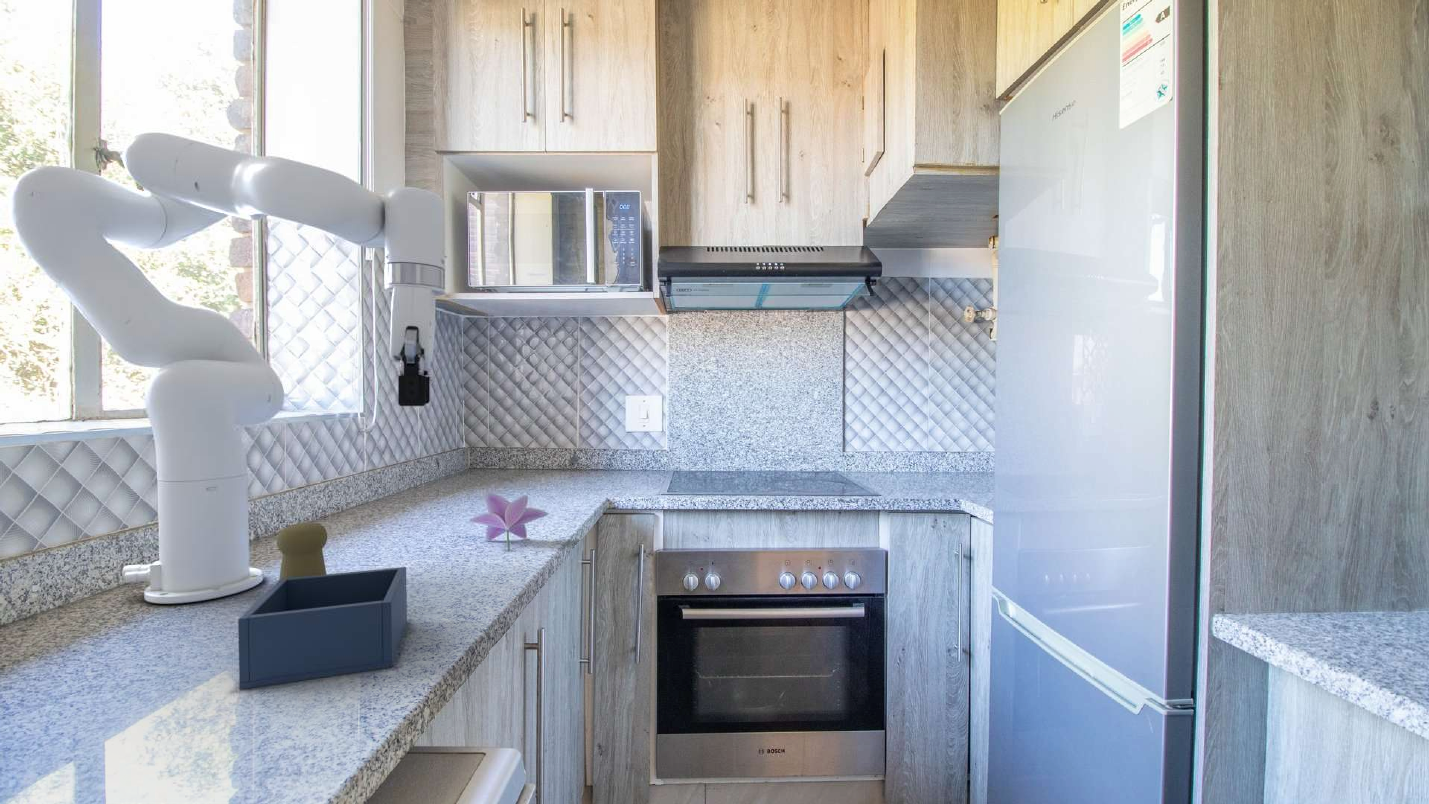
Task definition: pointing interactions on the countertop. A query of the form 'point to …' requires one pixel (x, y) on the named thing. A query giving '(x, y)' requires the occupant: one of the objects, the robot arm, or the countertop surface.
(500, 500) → the lily
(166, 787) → the countertop surface
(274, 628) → the bin
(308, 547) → the cork
